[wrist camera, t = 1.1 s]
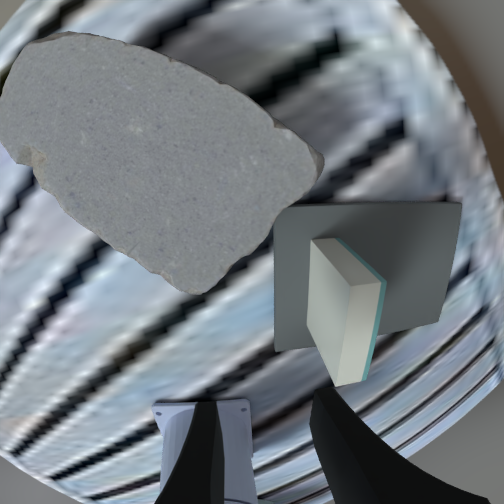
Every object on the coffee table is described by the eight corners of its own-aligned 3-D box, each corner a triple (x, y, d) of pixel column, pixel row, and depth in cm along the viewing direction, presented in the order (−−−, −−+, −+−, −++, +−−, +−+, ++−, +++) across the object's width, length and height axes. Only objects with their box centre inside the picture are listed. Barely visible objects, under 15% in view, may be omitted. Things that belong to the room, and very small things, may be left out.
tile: (331, 321, 21) (366, 380, 15) (306, 324, 20) (335, 386, 15) (339, 237, 18) (386, 281, 13) (310, 239, 18) (350, 286, 13)
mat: (434, 318, 23) (438, 321, 22) (274, 346, 21) (275, 351, 21) (457, 201, 19) (462, 203, 19) (273, 205, 18) (275, 207, 17)
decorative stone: (272, 251, 19) (317, 91, 16) (297, 315, 13) (373, 77, 9) (48, 207, 17) (72, 50, 13) (-16, 249, 10) (8, 26, 7)
